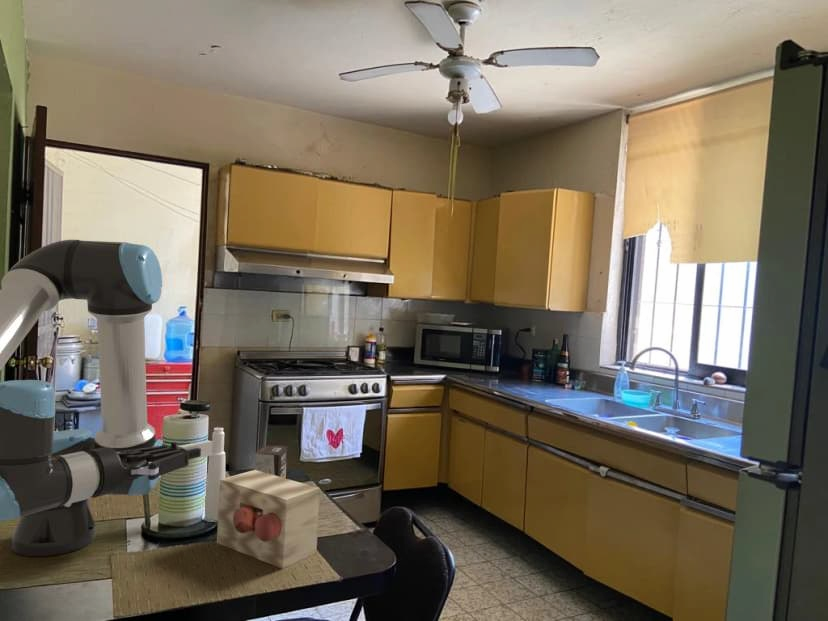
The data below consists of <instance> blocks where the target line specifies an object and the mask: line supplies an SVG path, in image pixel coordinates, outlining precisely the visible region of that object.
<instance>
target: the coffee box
mask: <svg viewBox="0 0 828 621" xmlns="http://www.w3.org/2000/svg"><path fill="white" fill-rule="evenodd" d="M287 455H288V446H283V445H263V446H262V447H261V448H260V449H258V450H257V451H256V452H255V453H254V461H253V462H254V464H253V470H257V471H261V472H264V473H268V474H271V475H275V476H278V477H282V478H286V475H287V457H288V456H287ZM286 479H287V478H286Z"/></svg>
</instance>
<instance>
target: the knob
mask: <svg viewBox="0 0 828 621" xmlns="http://www.w3.org/2000/svg"><path fill="white" fill-rule="evenodd" d="M260 516H263V509H260V508H254V507H253V506H250V505H248V506H245V507H242V508H239V509H237V510H236V511H235V512H234V515H233V523H234V526H235V528H236V530H237V531H238V532H240V533H246V532H248V531H251V530H253V529H255V522H256V520H257V518H258V517H260Z"/></svg>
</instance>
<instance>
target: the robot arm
mask: <svg viewBox="0 0 828 621" xmlns="http://www.w3.org/2000/svg"><path fill="white" fill-rule="evenodd" d="M161 268H162V267H161V266H160V262H159V259H158V256H157V255H156V254H155V252H154V250H152V249H151V248H150V247H149V246H147V245H144V244H137V243H130V242H125V241H124V242H123V241H122V242H121V241H101V240H100V241H98V240H96V241H95V240H80V239H64V240H57V241H55V242H52V243H48V244H46V245H44V246H42V247H41V246H40V248H38V249H36V250H34V251H32V252H31V253H29V254H27V255H26V256H24V257H23V258H21V259H20V260H18V261H17V262H16V263H15V264H14V265H13V266H12V267H11V268H9V270H8V271H7V272H6V273H5V275H4V276H3V278H2V279H1V283H0V286H1V289H0V371H1V370H3V368H4V367H5V365H6V364H7V362H8V361H9V359H10V358H11V357H12V356H13V354H14V353H15V352H16V350H17V349H18V348H19V346H20V345H21V343H22V342H23V340H24V339H25V337H26V336H27V335H28V333H29V332H30V331H31V330H32V329H33V327H34V325H35V324H36V323H37V321H38V320H39V319H40V317H41V316H42V315H43V313H44V312H48V311H50V310H52V309H54V308H55V307H56V306H57V304H58V303H59V302H60V301H63V300H69V299H71V300H73V299H74V300H82V301H84V300H85V301H86V302H87V312H88V313H89V314H90V315H91V316H93V317H94V318H95V319H96V324H97V325H96V328H97V347H98V349H97V350H98V366H99V367H98V368H99V371H98V372H99V392H100V409H101V410H100V411H101V428H100V429H99V430H98V431H97V432H96V433H95V434H94V437H93V433H92V431H91V430H90V429H85V428H76V429H68V430H67V429H66V430H61V431H60V430H59V431H55V432H54V428H55V415H56V409H55V408H56V406H55V389H54V386H53V385H52V383H50V382H48V381H45V380H38V379H24V380H23V379H22V380H21V379H17V380H7V381H5V380H4V381H1V382H0V522H2V521H8V520H16V519H19V518H20V519H19V521H18V523H17V525H16V527H15V530H14V533H13V534H12V539H11V549H12V551H13V552H14V553H15V554H18V555H21V556H27V557H28V556H29V557H48V556H56V555H57V556H58V555H63V554H66V553H70V552H73V551H76V550H77V551H78V550H79V549H81V548H84V547H86V546H88V545H89V544H91V543H93V541H94V540H95V538H96V523H95V520H94V517H93V515H92V511H91V508H90V505H89V499H91V498H94V499H95V498H98V497H102V496H106V495H111V496H113V495H116V496H120V495H121V496H124V495H125V496H129V497H131V496H138V495H139V496H143V495H144V496H145V495H147V494H149V493H151V492H152V491H153V490H154V488H156V486H157V485H158V482H159V479H160V477H161V476H163V475H166V474H168V473H171V472H174V471H177V470H179V469H182V468H185V467H188V466H189V461H193V460H194V461H195V460H198V459H202V458H205V457H207V458H208V457H209V456H211V455H212V440H208V439H206V440H202V441H201V440H200V441H197V442H191V443H188V444H187V443H186V444H182V445H179V446H177V444H178V443H177V442H175V441H173V442H172V441H171V442H170V446H168V445H167V444H165V445H162V444H163V441H164V440H163V439H160V438H158V439H156V429H155V427H153V426H152V425H151V424H150V423H148V408H147V407H148V405H147V404H148V403H147V401H148V400H147V375H146V374H147V373H146V372H147V371H146V370H147V368H146V367H147V366H146V365H147V364H146V338H145V337H146V336H145V318H146V316H147V315H149V313H150V312H151V311H152V309H153V304H155V303H157V302H158V301H160V299H161V296H162V288H163V275H162V270H161Z"/></svg>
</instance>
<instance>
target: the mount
mask: <svg viewBox="0 0 828 621" xmlns="http://www.w3.org/2000/svg"><path fill="white" fill-rule="evenodd" d="M320 489H321V488H320V487H318V486H314V485H310V484H306V483H304V482H299V481H295V480H292V479H289V478H282V477H278V476H275V475H271V474H268V473H264V472H261V471H257V470H254V469H253V470H249V471H246V472H245V471H244V472H243V473H238V474H235V475H231V476H228V477H227V476H226V477H225V478H223V479H220V491H219V510H218V522H217V529H216V530H217V532H216V543H217V544H218V543H219V545H221V546H224V547H226V546H227V547H226V548H229V549H232V550H234V551H236V552H239V553H242V554H244V555H247V556H249V557H251V556H252V558H254V559H257V560H259V561H262V562H265V563H267V564H268V565H269V564H270V565H272V566H274V567H277V568H279V569H282V570H283V569H286V568H288V567H290V566H292V565H294V564H296V563H298V562H301V561H302V560H304V559H306V558H308V557H310V556H313V555H314V554H316V553H317V551H318V550H317V547H318V532H319V528H318V527H319V514H320V512H319V508H320V493H321V492H320ZM248 505H250V506H253V507H254V508H260V509H263V516H260V517H258V518H257V520H256V522H255V529H253V530H251V531H248V532H246V533H240V532H238V531H237V530H236V528H235V526H234V523H233V515H234V512H235V511H236V510H237V509H239V508H242V507H245V506H248Z"/></svg>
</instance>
